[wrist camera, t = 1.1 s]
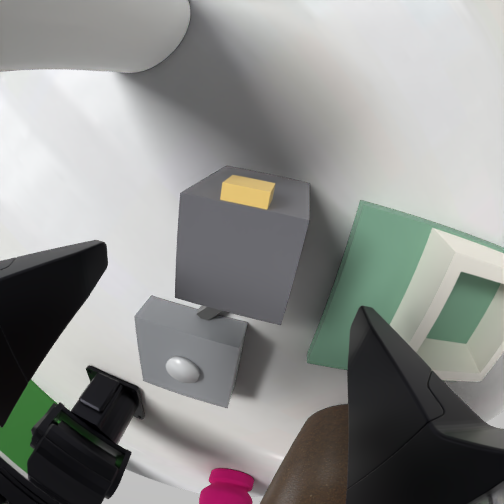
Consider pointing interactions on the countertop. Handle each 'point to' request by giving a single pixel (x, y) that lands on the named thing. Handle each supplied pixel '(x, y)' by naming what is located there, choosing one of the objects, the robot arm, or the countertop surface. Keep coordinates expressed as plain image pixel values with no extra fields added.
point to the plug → (241, 242)
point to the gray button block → (189, 349)
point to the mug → (90, 34)
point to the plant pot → (315, 462)
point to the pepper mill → (227, 488)
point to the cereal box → (23, 427)
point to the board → (418, 293)
